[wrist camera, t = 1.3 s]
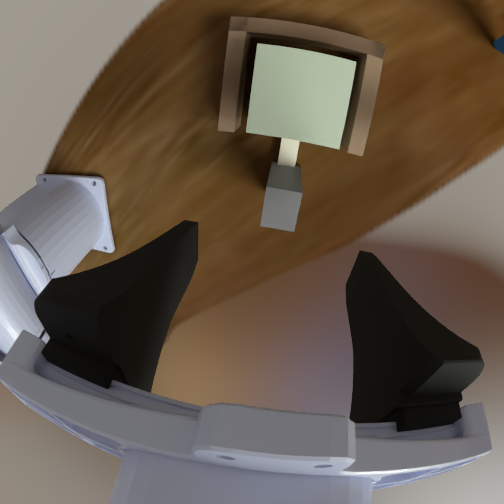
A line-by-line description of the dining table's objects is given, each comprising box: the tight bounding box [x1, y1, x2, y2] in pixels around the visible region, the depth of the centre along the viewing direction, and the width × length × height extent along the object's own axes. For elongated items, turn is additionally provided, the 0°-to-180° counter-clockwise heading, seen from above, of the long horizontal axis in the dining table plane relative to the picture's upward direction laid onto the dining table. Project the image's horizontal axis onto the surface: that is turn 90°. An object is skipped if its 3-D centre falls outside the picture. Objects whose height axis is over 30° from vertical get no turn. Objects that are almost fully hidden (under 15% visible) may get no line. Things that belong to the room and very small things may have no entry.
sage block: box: [246, 43, 356, 232], centre depth 15 cm, size 10×5×5 cm, turn 173°
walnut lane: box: [218, 16, 385, 156], centre depth 14 cm, size 8×9×2 cm
